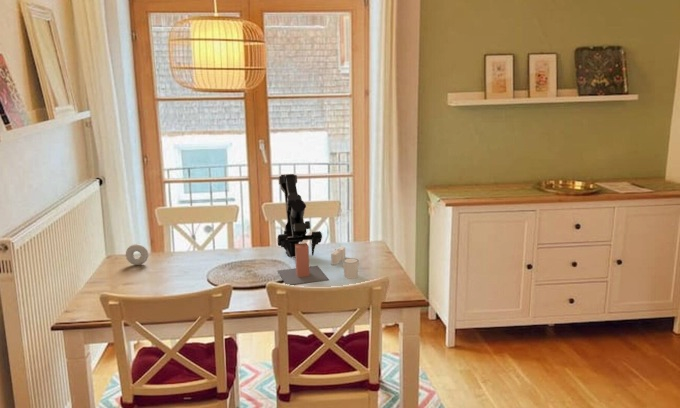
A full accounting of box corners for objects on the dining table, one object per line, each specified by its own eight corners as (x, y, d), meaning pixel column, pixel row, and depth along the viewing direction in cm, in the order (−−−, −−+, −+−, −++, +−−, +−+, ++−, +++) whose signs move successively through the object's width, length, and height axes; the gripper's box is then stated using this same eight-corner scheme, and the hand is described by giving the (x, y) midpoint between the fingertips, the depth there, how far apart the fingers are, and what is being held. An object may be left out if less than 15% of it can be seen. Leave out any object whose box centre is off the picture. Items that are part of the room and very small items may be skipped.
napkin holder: (333, 268, 258) (333, 256, 256) (319, 261, 266) (318, 249, 265) (360, 261, 266) (360, 249, 265) (345, 255, 275) (345, 243, 274)
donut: (150, 263, 268) (148, 242, 266) (148, 265, 265) (146, 244, 262) (127, 264, 267) (125, 243, 265) (125, 266, 264) (123, 245, 261)
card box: (296, 273, 250) (294, 244, 247) (307, 272, 251) (306, 243, 248) (297, 277, 245) (296, 247, 242) (309, 276, 246) (308, 246, 243)
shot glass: (345, 280, 242) (345, 264, 240) (341, 274, 248) (340, 258, 247) (361, 278, 244) (361, 262, 242) (356, 272, 250) (356, 257, 249)
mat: (277, 271, 254) (277, 270, 254) (317, 266, 259) (317, 265, 259) (286, 285, 237) (286, 284, 237) (329, 280, 242) (328, 279, 242)
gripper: (276, 216, 245) (280, 249, 237) (320, 213, 248) (326, 245, 240) (275, 229, 254) (279, 261, 246) (318, 226, 258) (323, 257, 250)
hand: (302, 256), depth 245 cm, fingers open, 9 cm apart
